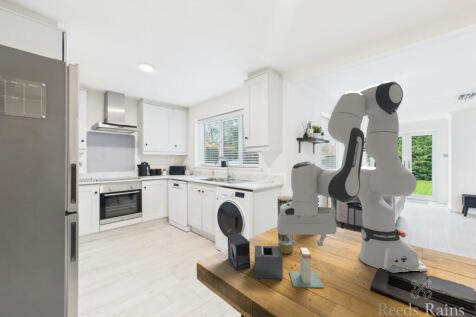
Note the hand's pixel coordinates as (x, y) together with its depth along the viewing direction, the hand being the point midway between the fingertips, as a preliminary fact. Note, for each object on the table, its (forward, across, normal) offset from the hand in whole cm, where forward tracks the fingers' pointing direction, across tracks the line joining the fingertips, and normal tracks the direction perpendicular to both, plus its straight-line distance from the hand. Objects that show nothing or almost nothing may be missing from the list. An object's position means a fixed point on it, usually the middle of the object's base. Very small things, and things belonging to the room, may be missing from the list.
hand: (306, 245), depth 74 cm
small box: (+12, +26, -10) cm, 30 cm away
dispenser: (+12, +14, -4) cm, 19 cm away
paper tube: (+12, +5, -22) cm, 25 cm away
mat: (+12, +1, 0) cm, 12 cm away
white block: (+12, +1, 0) cm, 12 cm away
